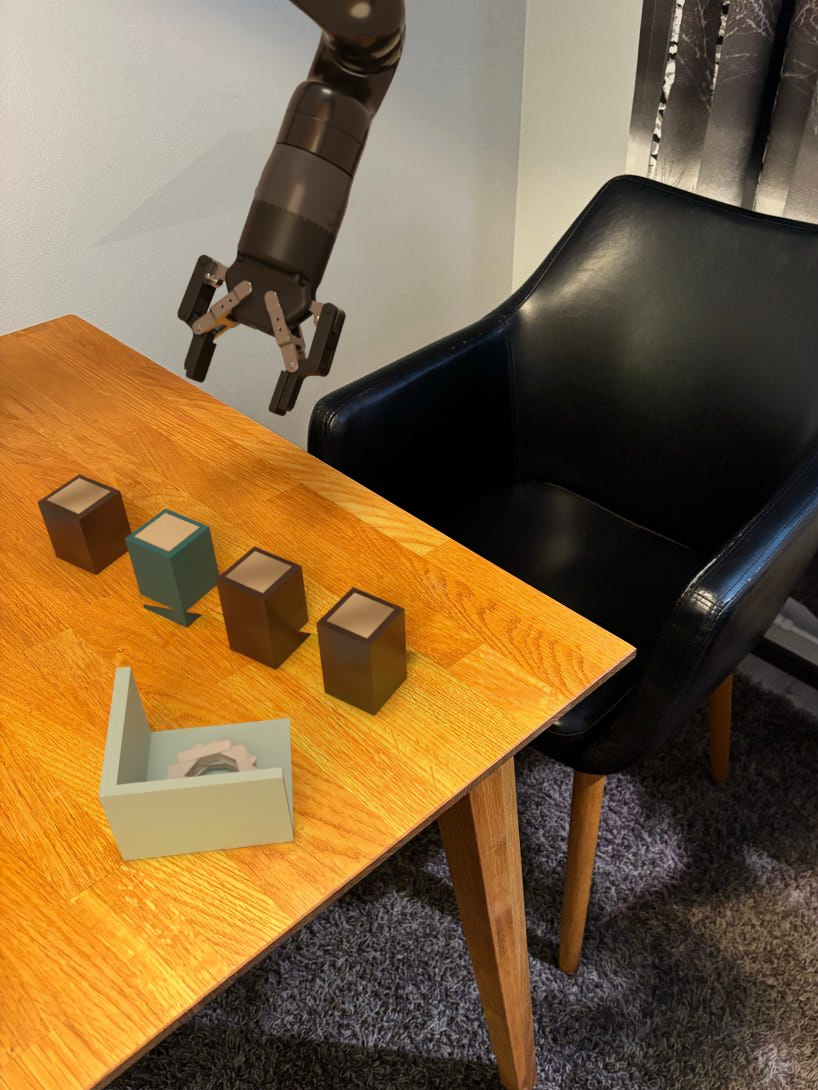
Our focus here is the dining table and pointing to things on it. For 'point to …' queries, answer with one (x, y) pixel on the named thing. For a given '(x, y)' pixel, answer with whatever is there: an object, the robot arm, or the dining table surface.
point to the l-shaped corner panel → (193, 782)
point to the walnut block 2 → (264, 606)
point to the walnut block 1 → (86, 523)
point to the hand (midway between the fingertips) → (234, 396)
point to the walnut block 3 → (363, 650)
